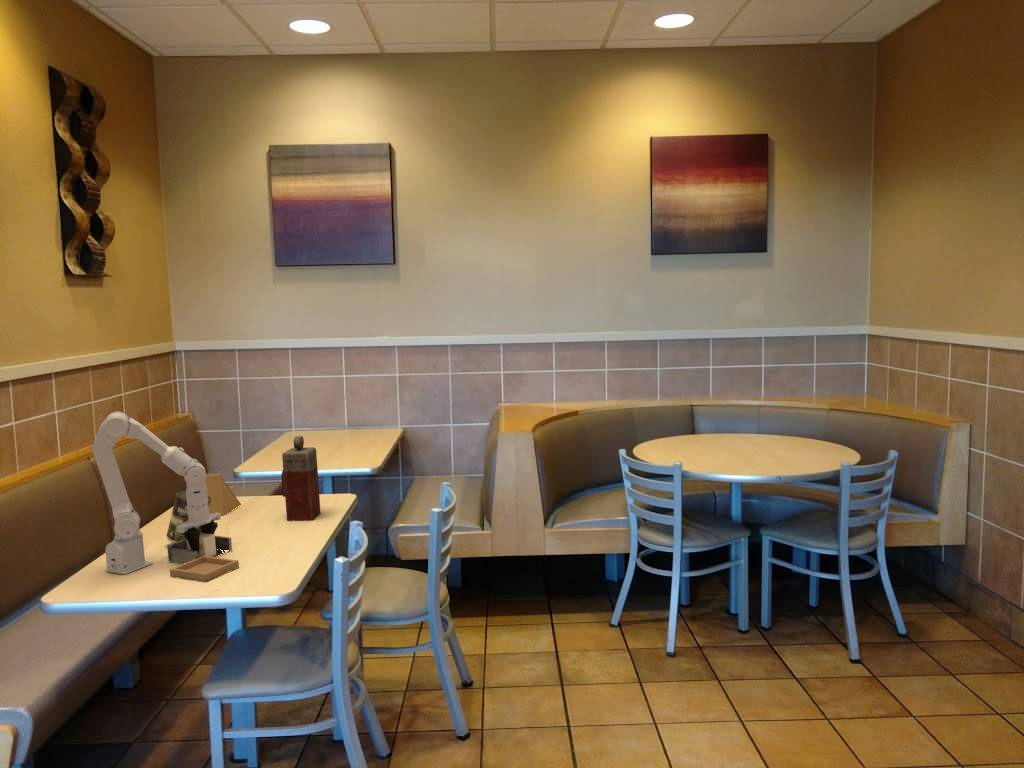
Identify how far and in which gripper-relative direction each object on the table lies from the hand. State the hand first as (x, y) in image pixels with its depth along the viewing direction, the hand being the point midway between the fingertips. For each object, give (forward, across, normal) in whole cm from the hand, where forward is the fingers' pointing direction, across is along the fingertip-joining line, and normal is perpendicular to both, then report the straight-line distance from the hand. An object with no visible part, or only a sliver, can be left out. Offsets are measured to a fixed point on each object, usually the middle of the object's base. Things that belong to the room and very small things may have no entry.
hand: (201, 550), depth 233 cm
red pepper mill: (+2, +43, 0) cm, 43 cm away
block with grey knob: (+2, 0, 0) cm, 2 cm away
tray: (+2, -10, -12) cm, 15 cm away
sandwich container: (+2, +42, +34) cm, 54 cm away
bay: (+2, 0, 0) cm, 2 cm away
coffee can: (+1, +7, +15) cm, 17 cm away
